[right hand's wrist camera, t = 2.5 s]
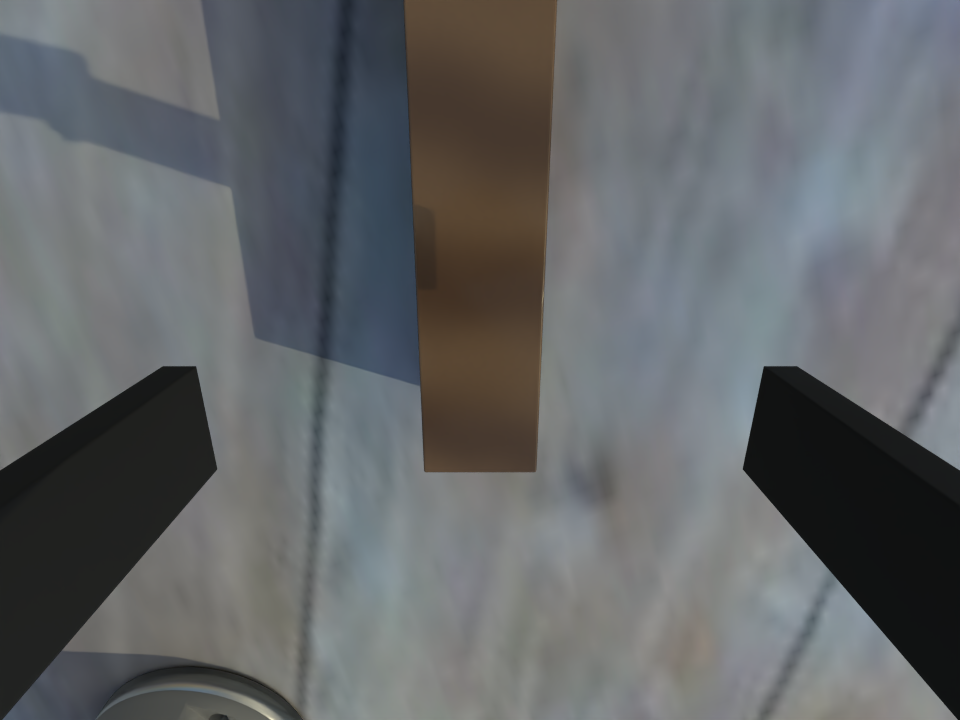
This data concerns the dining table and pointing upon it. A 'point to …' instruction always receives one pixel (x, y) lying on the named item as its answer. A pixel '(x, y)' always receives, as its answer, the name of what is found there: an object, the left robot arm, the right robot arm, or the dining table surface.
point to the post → (480, 223)
